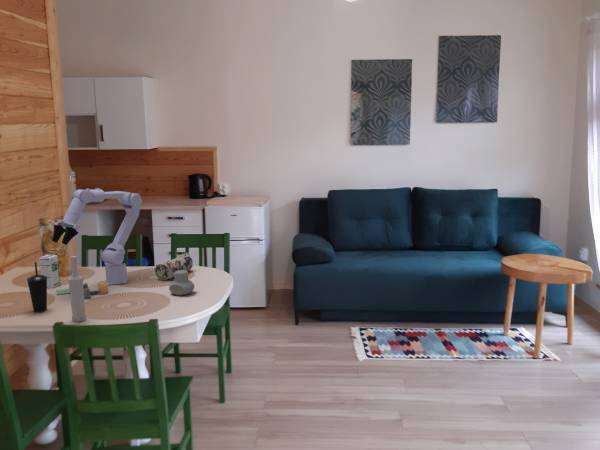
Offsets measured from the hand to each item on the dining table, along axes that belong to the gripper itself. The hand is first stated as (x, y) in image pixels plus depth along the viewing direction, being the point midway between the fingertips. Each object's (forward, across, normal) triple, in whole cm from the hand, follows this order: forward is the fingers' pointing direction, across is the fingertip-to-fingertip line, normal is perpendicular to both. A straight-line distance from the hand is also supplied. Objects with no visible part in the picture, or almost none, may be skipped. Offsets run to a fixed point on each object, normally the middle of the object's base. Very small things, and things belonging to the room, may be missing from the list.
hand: (59, 242), depth 240 cm
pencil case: (-8, +14, +55) cm, 58 cm away
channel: (+17, +6, +17) cm, 25 cm away
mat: (+18, -6, +17) cm, 25 cm away
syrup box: (+17, -19, +18) cm, 31 cm away
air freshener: (+2, +39, +41) cm, 57 cm away
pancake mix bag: (+10, -37, +29) cm, 48 cm away
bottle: (+27, +32, +3) cm, 42 cm away
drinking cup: (+29, +9, 0) cm, 30 cm away
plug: (+14, +9, +22) cm, 28 cm away
